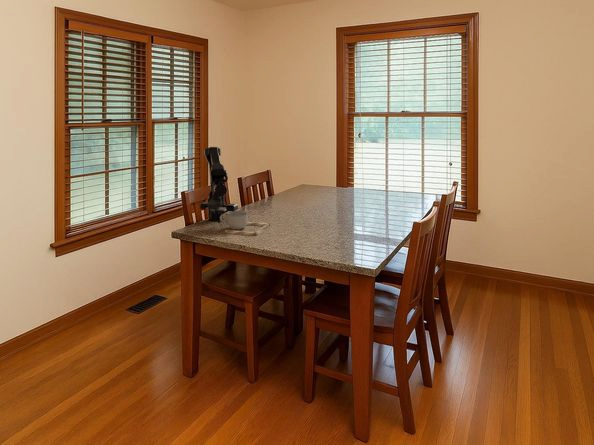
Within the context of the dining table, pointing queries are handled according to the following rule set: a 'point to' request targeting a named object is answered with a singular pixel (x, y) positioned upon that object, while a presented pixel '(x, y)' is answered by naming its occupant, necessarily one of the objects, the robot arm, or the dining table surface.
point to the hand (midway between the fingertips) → (219, 223)
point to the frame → (265, 225)
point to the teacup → (235, 219)
